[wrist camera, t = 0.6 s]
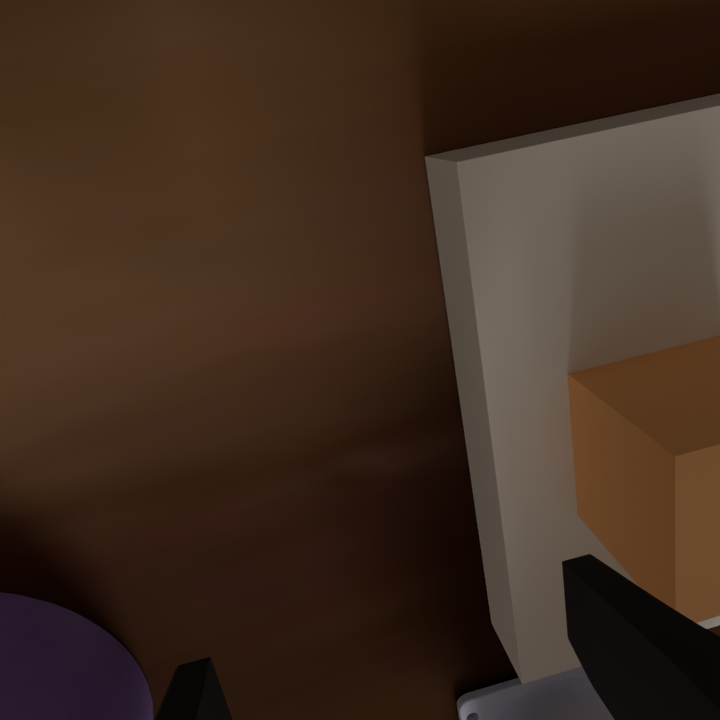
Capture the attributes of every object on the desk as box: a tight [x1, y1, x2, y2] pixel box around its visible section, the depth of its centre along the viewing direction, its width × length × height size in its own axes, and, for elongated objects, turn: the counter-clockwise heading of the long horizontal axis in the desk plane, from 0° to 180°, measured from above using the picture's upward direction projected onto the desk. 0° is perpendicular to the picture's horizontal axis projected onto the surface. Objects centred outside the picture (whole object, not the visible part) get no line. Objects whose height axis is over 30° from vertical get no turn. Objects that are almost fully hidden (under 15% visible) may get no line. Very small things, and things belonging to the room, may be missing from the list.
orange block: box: [567, 335, 720, 623], centre depth 18 cm, size 5×5×5 cm
